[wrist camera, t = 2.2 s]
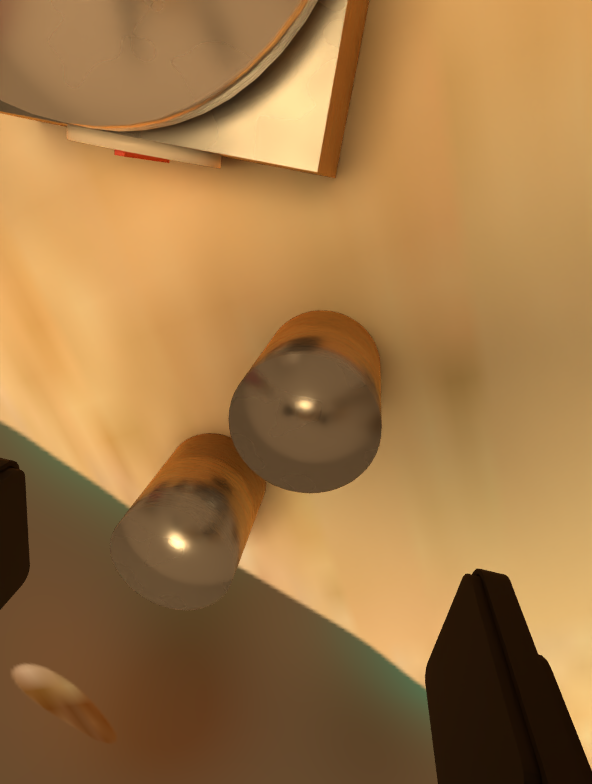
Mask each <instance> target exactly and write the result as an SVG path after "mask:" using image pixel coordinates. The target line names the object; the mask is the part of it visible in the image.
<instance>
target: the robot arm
mask: <svg viewBox="0 0 592 784" xmlns="http://www.w3.org/2000/svg"><path fill="white" fill-rule="evenodd" d="M29 567H30V562H29V544H28V525H27V506H26V486H25V474H24V472H23V471H22V470H19V465H18V464H17V462H15V461H12V460H7V459H3V458H0V609H1V608H2V607H3V606H4V605H5V604H6V603H7V601H8V600H9V599H10V598H11V597H12V596H13V595H14V594H15V592H16V591H17V590H18V589H19V588H20V587H21V586H22V584H23V583H24V581H25V580H26V578H27V575H28V572H29ZM425 684H426V692H427V700H428V708H429V715H430V724H431V732H432V740H433V748H434V755H435V763H436V772H437V779H438V784H592V770H591V768H590V765H589V763H588V760H587V758H586V755H585V753H584V750H583V748H582V745H581V742H580V740H579V737H578V735H577V732H576V730H575V727H574V725H573V722H572V720H571V717H570V715H569V712H568V710H567V707H566V705H565V702H564V700H563V697H562V694H561V692H560V689H559V687H558V684H557V682H556V679H555V677H554V674H553V672H552V669H551V667H550V665H549V663H548V662H547V660H546V659H545V658H544V657H543V656H542V655H538V653H537V650H536V647H535V645H534V642H533V639H532V637H531V634H530V632H529V629H528V626H527V624H526V621H525V618H524V616H523V613H522V611H521V608H520V605H519V603H518V600H517V597H516V595H515V592H514V589H513V587H512V584H511V582H510V580H509V578H508V576H506V575H504V574H500V573H495V572H491V571H487V570H482V569H476V570H475V571H474V572H473V574H472V575H471V574H465V575H464V576H463V578H462V581H461V583H460V585H459V588H458V590H457V593H456V595H455V598H454V600H453V602H452V605H451V607H450V610H449V612H448V615H447V617H446V619H445V622H444V624H443V627H442V629H441V632H440V634H439V636H438V639H437V641H436V644H435V646H434V649H433V651H432V653H431V656H430V658H429V661H428V663H427V667H426V674H425Z"/></svg>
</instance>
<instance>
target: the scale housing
mask: <svg viewBox="0 0 592 784" xmlns="http://www.w3.org/2000/svg"><path fill="white" fill-rule="evenodd" d="M368 5H369V0H318V1H317V3H316V4H315V6H314V8H313V10H312V11H311V13H310V15H309V16H308V18H307V20H306V21H305V23H304V24H303V26H302V27H301V28H300V30H299V31H298V32H297V33H296V35H295V36H294V37H293V39H292V40H291V41H290V43H289V44H288V45H287V47H286V48H285V49H284V51H283V52H282V53H281V54H280V55H279V56H278V57H277V58H276V59H275V60H274V61H273V62H272V63H271V64H270V65H269V66H268V67H267V68H266V69H265V70H264V71H263V72H262V73H261V75H260V76H259V77H258V78H256V79H255V80H254V81H253V82H251V83H250V84H249V85H247V86H246V87H245V88H244V89H242V90H241V91H240V92H238V93H237V94H236V95H235V96H233V97H232V98H231V99H229V100H227V101H225V102H224V103H222V104H220V105H218V106H216V107H215V108H213V109H211V110H209V111H208V112H206V113H204V114H202V115H199V116H196V117H194V118H191V119H188V120H186V121H183V122H180V123H178V124H175V125H170V126H165V127H160V128H155V129H150V130H140V131H110V130H102V129H93V128H87V127H82V126H78V125H73V124H69V123H64V122H60V121H57V120H53V119H49V118H46V117H42V116H38V115H34V114H31V113H29V112H26V111H24V110H22V109H19V108H17V107H15V106H12V105H10V104H8V103H5V102H3V101H1V100H0V113H2V114H7V115H12V116H17V117H21V118H26V119H31V120H36V121H41V122H46V123H51V124H56V125H61V126H67V140H71V141H76V142H80V143H85V144H90V145H95V146H100V147H106V148H111V149H115V155H119V156H124V157H131V158H139V159H146V160H153V161H160V162H167V163H169V160H174V161H180V162H185V163H191V164H196V165H202V166H208V167H214V168H221V159H222V156H223V157H228V158H233V159H238V160H243V161H249V162H254V163H259V164H264V165H270V166H275V167H280V168H285V169H290V170H296V171H301V172H306V173H311V174H316V175H322V176H327V177H332V178H335V177H336V172H337V167H338V161H339V156H340V151H341V146H342V141H343V135H344V130H345V125H346V120H347V114H348V109H349V104H350V99H351V94H352V88H353V83H354V78H355V73H356V67H357V62H358V57H359V52H360V47H361V41H362V36H363V31H364V26H365V20H366V15H367V10H368Z"/></svg>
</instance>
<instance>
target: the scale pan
mask: <svg viewBox="0 0 592 784" xmlns="http://www.w3.org/2000/svg"><path fill="white" fill-rule="evenodd" d="M317 1H318V0H0V100H1V101H3V102H5V103H8V104H10V105H12V106H15V107H17V108H19V109H22V110H24V111H26V112H29V113H31V114H34V115H38V116H42V117H46V118H49V119H53V120H57V121H60V122H64V123H69V124H73V125H78V126H82V127H87V128H93V129H102V130H110V131H140V130H150V129H155V128H160V127H165V126H170V125H175V124H178V123H180V122H183V121H186V120H188V119H191V118H194V117H196V116H199V115H202V114H204V113H206V112H208V111H209V110H211V109H213V108H215V107H216V106H218V105H220V104H222V103H224V102H225V101H227V100H229V99H231V98H232V97H233V96H235V95H236V94H237V93H238V92H240V91H241V90H242V89H244V88H245V87H246V86H247V85H249V84H250V83H251V82H253V81H254V80H255V79H256V78H258V77H259V76H260V75H261V73H262V72H263V71H264V70H265V69H266V68H267V67H268V66H269V65H270V64H271V63H272V62H273V61H274V60H275V59H276V58H277V57H278V56H279V55H280V54H281V53H282V52H283V51H284V49H285V48H286V47H287V45H288V44H289V43H290V41H291V40H292V39H293V37H294V36H295V35H296V33H297V32H298V31H299V30H300V28H301V27H302V26H303V24H304V23H305V21H306V20H307V18H308V16H309V15H310V13H311V11H312V10H313V8H314V6H315V4H316V3H317Z"/></svg>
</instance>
